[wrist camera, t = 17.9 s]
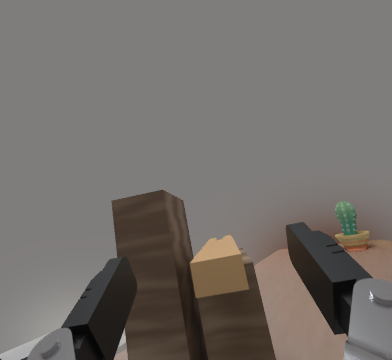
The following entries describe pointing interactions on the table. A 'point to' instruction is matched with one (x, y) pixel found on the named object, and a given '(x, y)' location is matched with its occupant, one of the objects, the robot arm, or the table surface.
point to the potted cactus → (350, 228)
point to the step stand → (182, 291)
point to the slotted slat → (218, 268)
